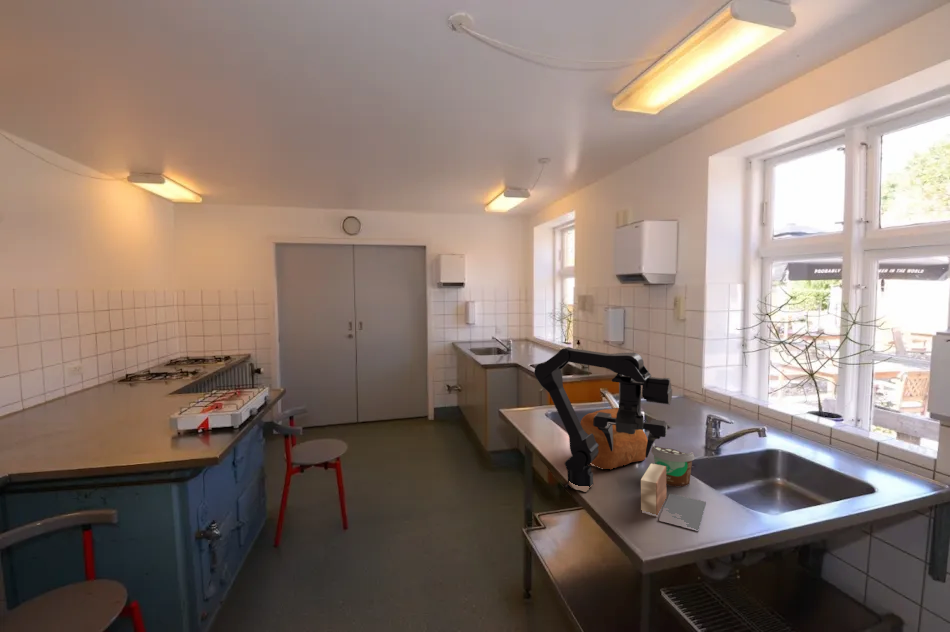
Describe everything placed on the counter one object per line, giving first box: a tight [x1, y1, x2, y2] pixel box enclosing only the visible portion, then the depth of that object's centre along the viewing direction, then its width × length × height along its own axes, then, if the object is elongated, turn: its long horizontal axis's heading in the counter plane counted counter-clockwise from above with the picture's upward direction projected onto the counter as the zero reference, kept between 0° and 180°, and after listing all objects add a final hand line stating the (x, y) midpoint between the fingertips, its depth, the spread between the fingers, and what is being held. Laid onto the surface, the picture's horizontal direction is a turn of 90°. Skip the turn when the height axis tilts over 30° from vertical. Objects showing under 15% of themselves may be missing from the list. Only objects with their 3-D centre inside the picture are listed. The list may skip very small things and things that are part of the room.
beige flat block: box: [640, 463, 667, 516], centre depth 113 cm, size 4×12×9 cm, turn 145°
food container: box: [650, 442, 695, 487], centre depth 125 cm, size 12×6×10 cm, turn 45°
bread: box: [580, 407, 648, 470], centre depth 144 cm, size 18×21×17 cm
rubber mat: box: [663, 493, 707, 531], centre depth 109 cm, size 9×16×1 cm, turn 145°
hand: (628, 453), depth 116 cm, fingers open, 9 cm apart
